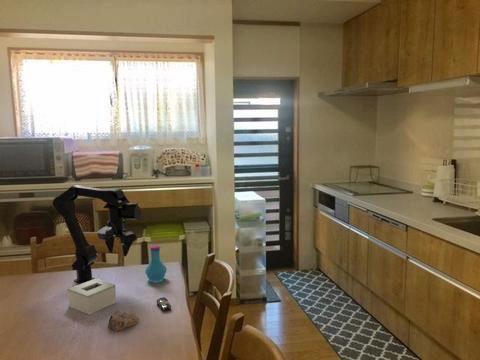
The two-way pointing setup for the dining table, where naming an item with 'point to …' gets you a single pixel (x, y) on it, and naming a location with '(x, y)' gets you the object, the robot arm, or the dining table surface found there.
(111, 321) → the rock
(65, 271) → the dining table surface
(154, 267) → the perfume bottle
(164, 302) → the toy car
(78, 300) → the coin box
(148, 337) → the dining table surface
